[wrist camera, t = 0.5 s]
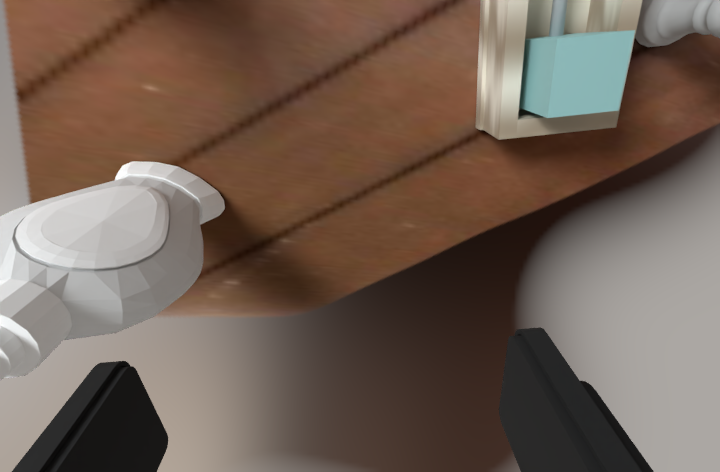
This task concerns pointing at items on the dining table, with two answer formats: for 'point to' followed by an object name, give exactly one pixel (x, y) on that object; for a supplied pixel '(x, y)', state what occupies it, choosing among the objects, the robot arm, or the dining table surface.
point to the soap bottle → (99, 259)
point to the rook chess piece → (676, 20)
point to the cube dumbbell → (574, 69)
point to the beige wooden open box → (505, 61)
